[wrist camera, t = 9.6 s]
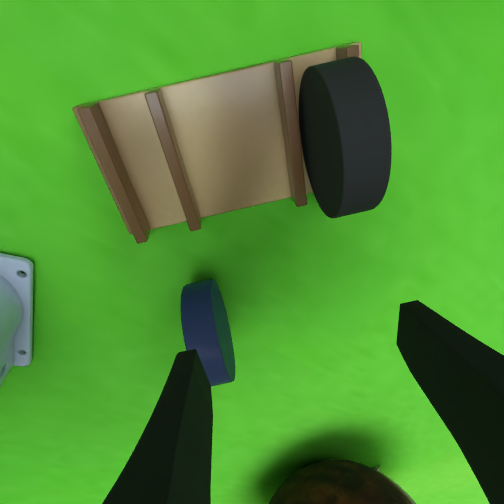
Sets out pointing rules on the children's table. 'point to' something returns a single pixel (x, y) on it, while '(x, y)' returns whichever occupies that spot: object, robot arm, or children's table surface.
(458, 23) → the children's table surface
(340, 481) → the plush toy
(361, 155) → the rubber puck
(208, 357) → the navy disc
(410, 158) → the children's table surface
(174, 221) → the disc rack
